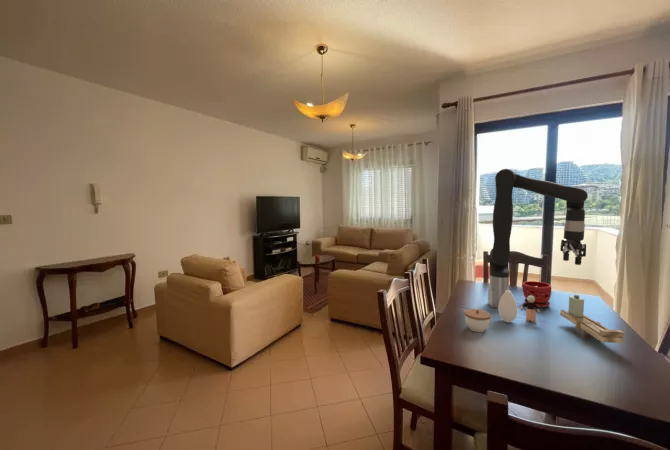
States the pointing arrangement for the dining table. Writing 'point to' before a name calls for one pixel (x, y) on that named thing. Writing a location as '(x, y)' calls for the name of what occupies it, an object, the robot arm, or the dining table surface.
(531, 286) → the plant pot
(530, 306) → the grandmother figurine
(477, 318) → the lidded jar
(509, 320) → the white teardrop vase
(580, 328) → the beam
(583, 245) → the robot arm
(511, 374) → the dining table surface
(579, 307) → the block
